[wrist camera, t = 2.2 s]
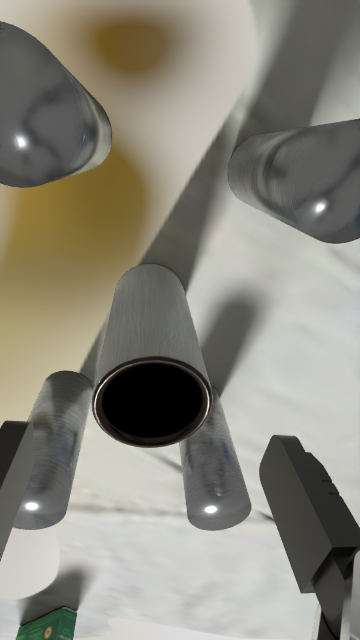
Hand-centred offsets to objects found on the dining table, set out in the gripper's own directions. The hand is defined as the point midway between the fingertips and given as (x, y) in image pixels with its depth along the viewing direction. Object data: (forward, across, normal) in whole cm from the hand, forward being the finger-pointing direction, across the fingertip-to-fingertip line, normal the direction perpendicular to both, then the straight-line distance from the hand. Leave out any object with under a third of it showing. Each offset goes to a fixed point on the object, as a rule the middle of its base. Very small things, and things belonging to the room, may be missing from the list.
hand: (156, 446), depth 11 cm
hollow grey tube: (+12, 0, 0) cm, 12 cm away
